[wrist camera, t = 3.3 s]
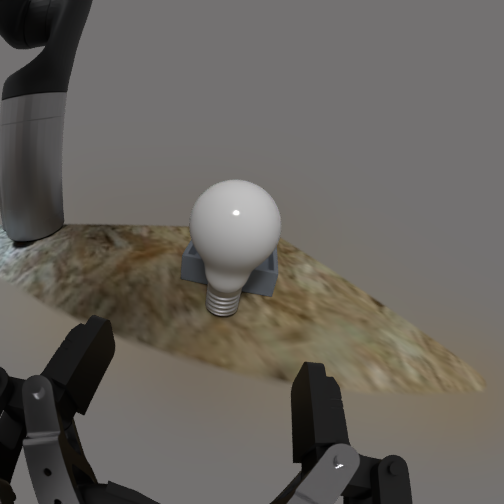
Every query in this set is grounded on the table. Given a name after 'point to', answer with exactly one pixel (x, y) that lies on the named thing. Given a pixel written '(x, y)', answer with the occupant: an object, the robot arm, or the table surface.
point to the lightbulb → (233, 238)
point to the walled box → (257, 282)
